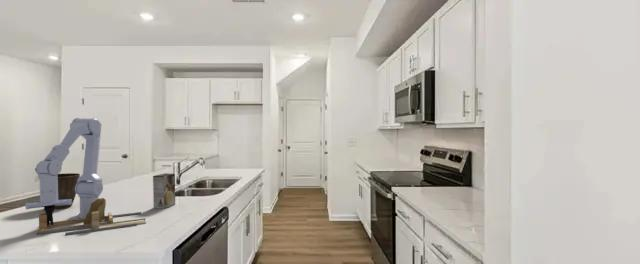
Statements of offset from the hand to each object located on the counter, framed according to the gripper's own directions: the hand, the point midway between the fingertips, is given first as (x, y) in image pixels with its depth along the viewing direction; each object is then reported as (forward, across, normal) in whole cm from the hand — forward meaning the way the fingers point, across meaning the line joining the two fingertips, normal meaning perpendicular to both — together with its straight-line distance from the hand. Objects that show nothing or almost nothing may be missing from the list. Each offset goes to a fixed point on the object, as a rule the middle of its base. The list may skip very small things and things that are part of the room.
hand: (49, 224), depth 143 cm
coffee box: (+2, +46, +17) cm, 49 cm away
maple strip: (+2, +23, -10) cm, 25 cm away
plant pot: (+2, +2, +41) cm, 41 cm away
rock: (+2, +15, 0) cm, 15 cm away
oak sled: (+2, +9, 0) cm, 9 cm away
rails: (+2, +15, -3) cm, 15 cm away
